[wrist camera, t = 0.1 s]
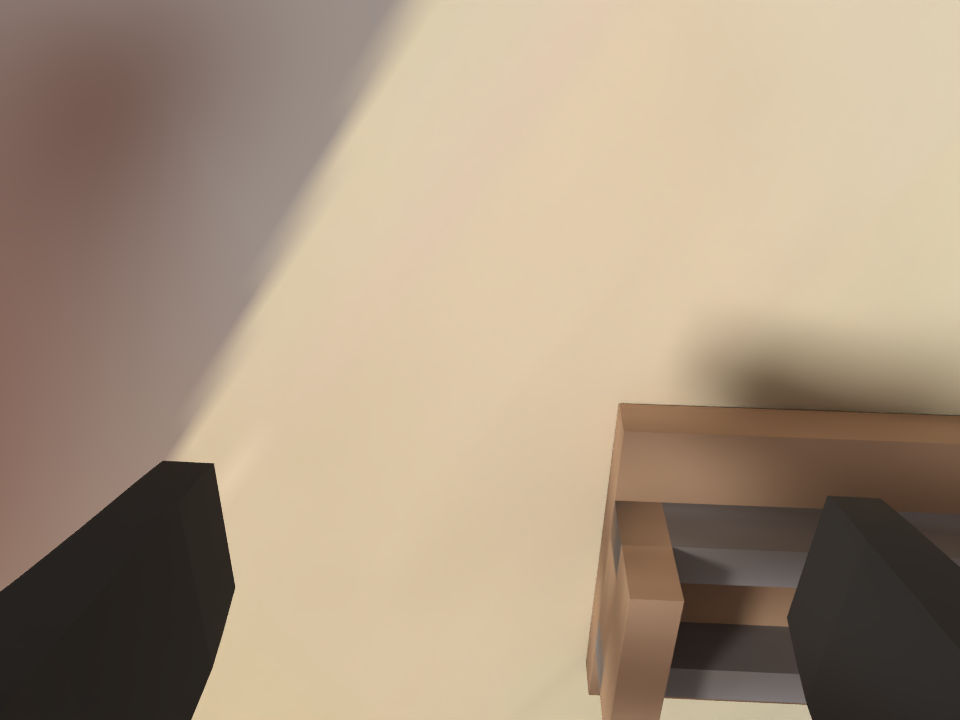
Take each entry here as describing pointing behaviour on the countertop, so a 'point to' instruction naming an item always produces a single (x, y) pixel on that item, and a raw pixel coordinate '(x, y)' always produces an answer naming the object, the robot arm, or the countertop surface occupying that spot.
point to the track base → (739, 539)
